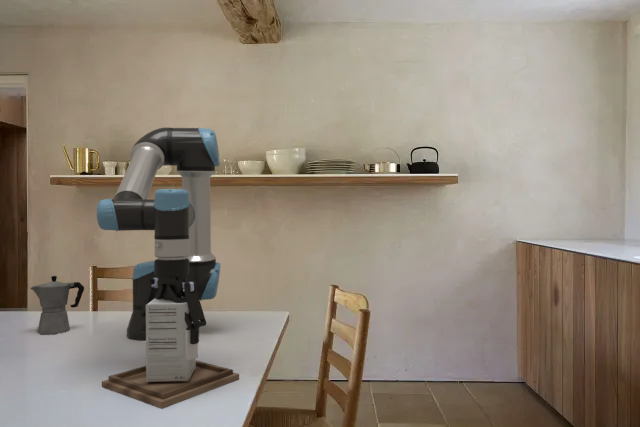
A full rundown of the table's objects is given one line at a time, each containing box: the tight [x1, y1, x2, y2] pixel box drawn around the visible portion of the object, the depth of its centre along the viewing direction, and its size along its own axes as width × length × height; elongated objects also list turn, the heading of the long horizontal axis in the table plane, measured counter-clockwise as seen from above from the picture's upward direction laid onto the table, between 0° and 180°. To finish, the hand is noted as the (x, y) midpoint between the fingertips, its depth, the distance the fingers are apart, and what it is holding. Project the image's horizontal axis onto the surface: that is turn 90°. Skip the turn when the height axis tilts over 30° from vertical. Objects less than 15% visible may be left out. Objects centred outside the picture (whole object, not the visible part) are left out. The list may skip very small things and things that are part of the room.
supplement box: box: [145, 298, 197, 382], centre depth 110 cm, size 10×9×17 cm
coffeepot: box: [30, 275, 85, 336], centre depth 159 cm, size 15×9×18 cm, turn 113°
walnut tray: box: [101, 360, 240, 409], centre depth 110 cm, size 21×21×2 cm
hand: (172, 353), depth 110 cm, fingers closed on supplement box, 12 cm apart
